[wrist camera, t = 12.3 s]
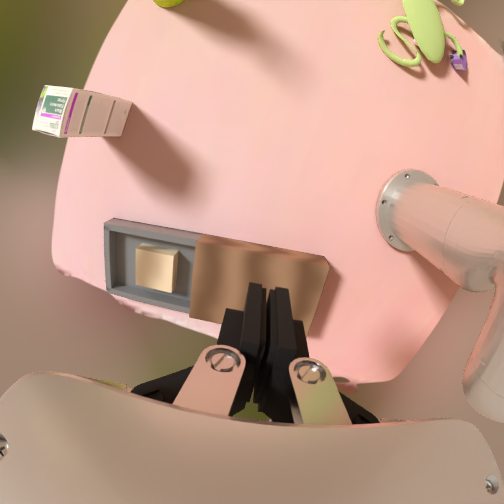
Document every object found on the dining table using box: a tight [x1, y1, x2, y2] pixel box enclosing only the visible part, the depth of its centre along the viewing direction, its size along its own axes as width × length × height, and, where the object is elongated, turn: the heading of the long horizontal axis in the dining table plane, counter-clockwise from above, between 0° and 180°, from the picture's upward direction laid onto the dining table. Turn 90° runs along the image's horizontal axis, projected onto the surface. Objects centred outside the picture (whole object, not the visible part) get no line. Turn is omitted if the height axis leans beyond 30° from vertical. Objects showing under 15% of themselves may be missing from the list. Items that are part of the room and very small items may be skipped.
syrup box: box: [32, 85, 132, 138], centre depth 26 cm, size 6×6×14 cm
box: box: [104, 218, 202, 313], centre depth 39 cm, size 15×12×3 cm
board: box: [189, 234, 330, 337], centre depth 39 cm, size 18×12×4 cm, turn 80°
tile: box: [136, 243, 179, 293], centre depth 39 cm, size 6×6×2 cm
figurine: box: [378, 0, 467, 71], centre depth 21 cm, size 18×27×6 cm
